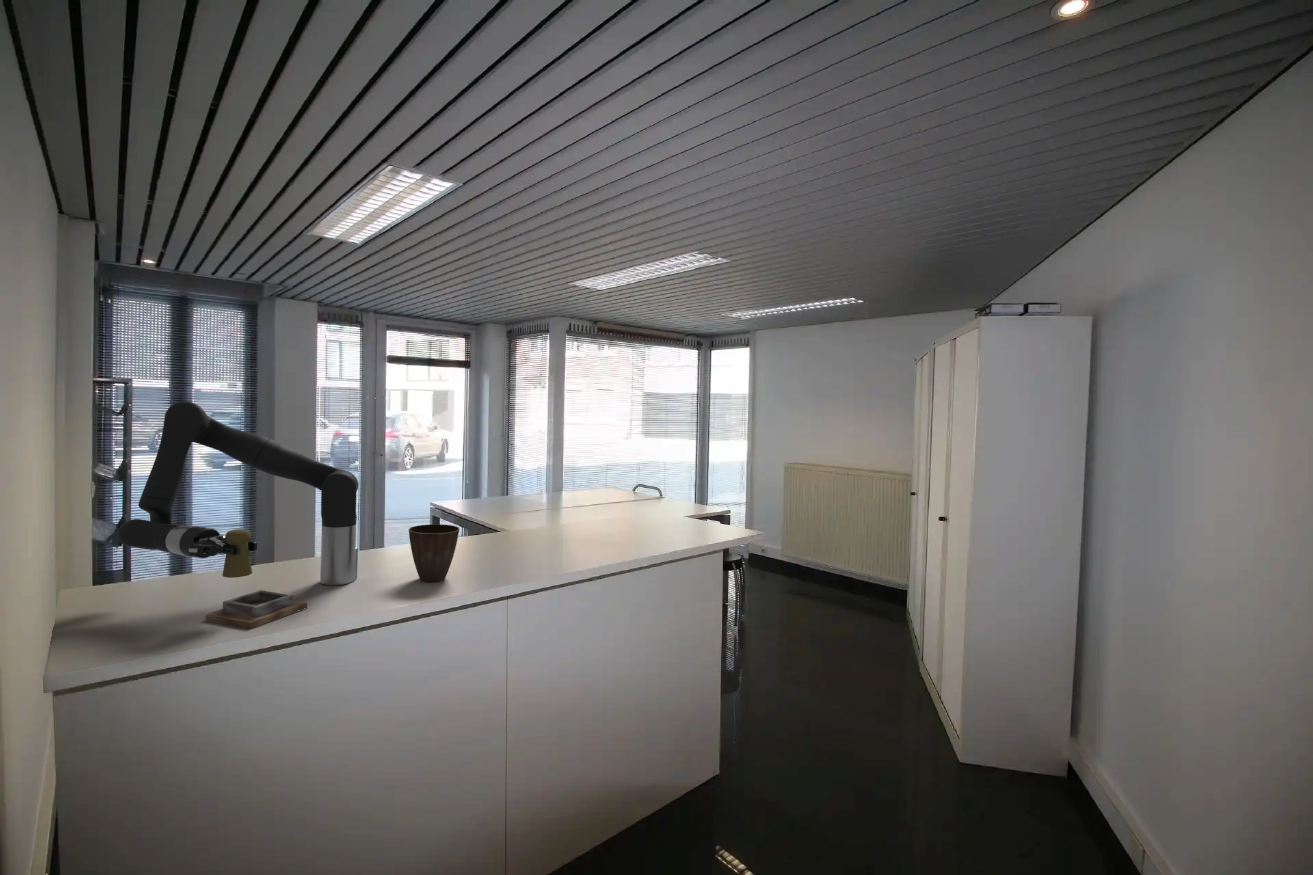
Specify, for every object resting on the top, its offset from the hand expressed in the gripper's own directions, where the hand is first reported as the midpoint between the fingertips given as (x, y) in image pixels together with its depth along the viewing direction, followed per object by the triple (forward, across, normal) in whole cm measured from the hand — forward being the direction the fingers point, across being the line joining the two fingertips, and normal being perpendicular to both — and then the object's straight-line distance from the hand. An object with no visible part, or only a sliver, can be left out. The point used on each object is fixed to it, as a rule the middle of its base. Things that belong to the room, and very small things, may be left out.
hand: (247, 548), depth 147 cm
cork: (-3, 0, +7) cm, 7 cm away
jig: (0, +4, +18) cm, 18 cm away
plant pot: (+19, +48, +18) cm, 54 cm away
